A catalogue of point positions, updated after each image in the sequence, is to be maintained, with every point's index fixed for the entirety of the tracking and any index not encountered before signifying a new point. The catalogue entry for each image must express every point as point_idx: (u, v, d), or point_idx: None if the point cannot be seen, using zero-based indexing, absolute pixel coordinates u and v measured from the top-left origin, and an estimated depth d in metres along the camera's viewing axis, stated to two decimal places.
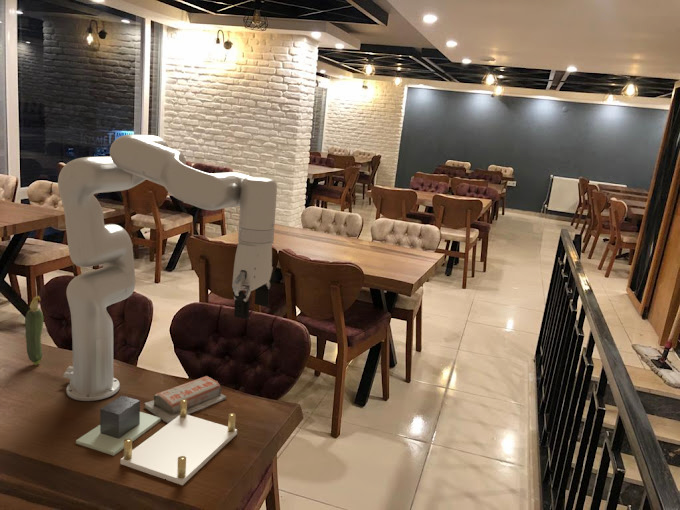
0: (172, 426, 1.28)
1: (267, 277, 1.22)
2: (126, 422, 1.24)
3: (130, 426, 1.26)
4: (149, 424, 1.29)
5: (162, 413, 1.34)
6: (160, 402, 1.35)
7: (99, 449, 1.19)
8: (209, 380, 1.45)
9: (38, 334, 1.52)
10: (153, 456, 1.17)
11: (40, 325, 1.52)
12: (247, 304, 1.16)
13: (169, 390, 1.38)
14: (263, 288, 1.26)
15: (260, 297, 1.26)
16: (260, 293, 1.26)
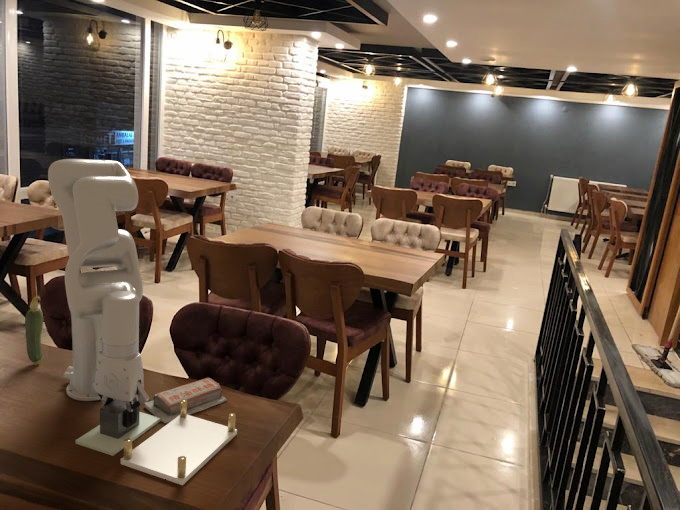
0: (172, 426, 1.28)
1: None
2: None
3: (130, 426, 1.26)
4: (149, 424, 1.29)
5: (161, 413, 1.34)
6: (159, 402, 1.35)
7: (98, 449, 1.19)
8: (210, 382, 1.45)
9: (38, 334, 1.52)
10: (153, 456, 1.17)
11: (40, 325, 1.52)
12: None
13: (169, 391, 1.38)
14: (111, 401, 1.26)
15: None
16: None
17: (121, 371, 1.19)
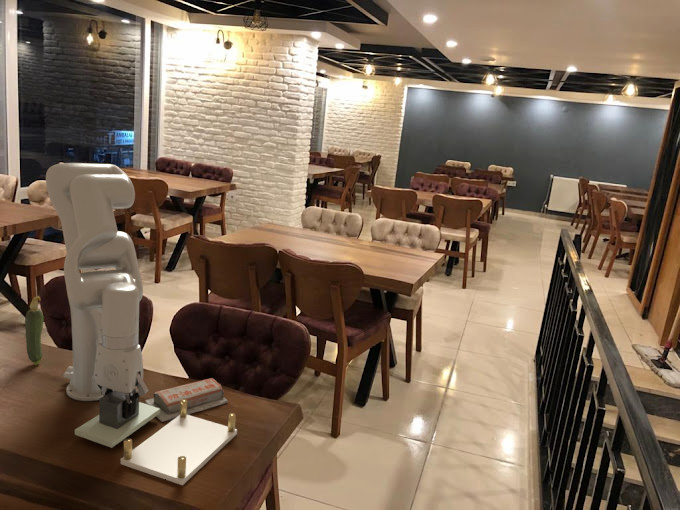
0: (172, 426, 1.28)
1: None
2: None
3: (129, 417, 1.26)
4: (148, 415, 1.29)
5: None
6: (158, 400, 1.36)
7: (97, 439, 1.19)
8: (212, 383, 1.44)
9: (38, 334, 1.52)
10: (153, 456, 1.17)
11: (40, 325, 1.52)
12: None
13: (169, 389, 1.39)
14: None
15: None
16: None
17: (121, 363, 1.19)
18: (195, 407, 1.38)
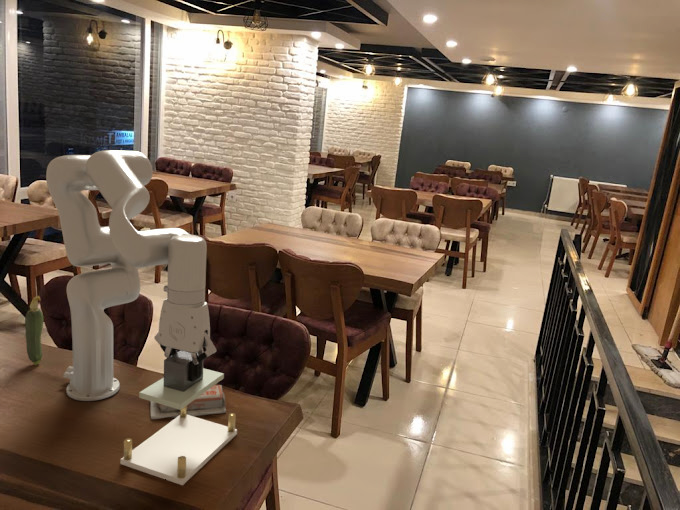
0: (172, 426, 1.28)
1: None
2: None
3: None
4: (213, 379, 1.21)
5: (155, 408, 1.36)
6: None
7: (164, 401, 1.11)
8: (216, 390, 1.41)
9: (38, 334, 1.52)
10: (153, 456, 1.17)
11: (40, 325, 1.52)
12: None
13: None
14: None
15: None
16: None
17: (188, 319, 1.12)
18: (190, 411, 1.36)
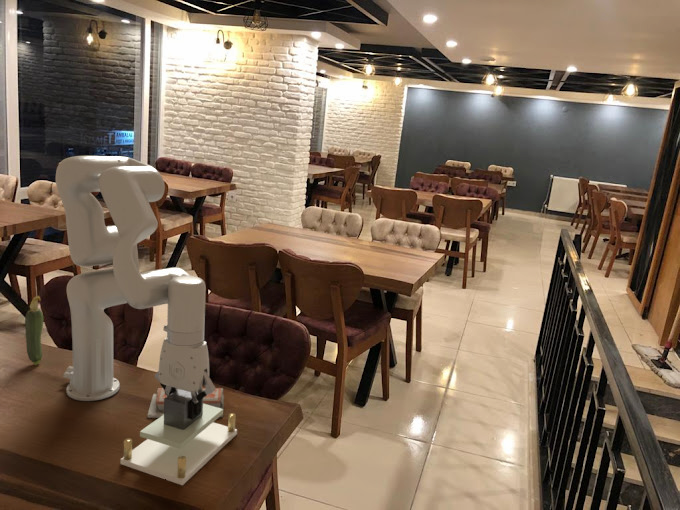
0: None
1: None
2: None
3: None
4: (212, 415, 1.23)
5: (153, 407, 1.36)
6: None
7: (165, 440, 1.13)
8: (215, 393, 1.39)
9: (38, 334, 1.52)
10: (153, 456, 1.17)
11: (40, 325, 1.52)
12: None
13: None
14: None
15: None
16: None
17: (188, 359, 1.14)
18: None
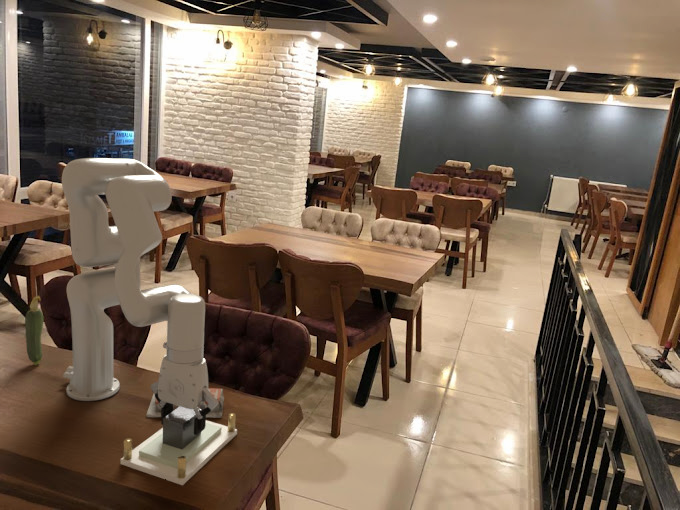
0: None
1: None
2: (189, 432, 1.20)
3: (192, 436, 1.21)
4: (211, 434, 1.24)
5: (153, 407, 1.37)
6: None
7: (163, 460, 1.14)
8: (215, 393, 1.39)
9: (38, 334, 1.52)
10: None
11: (40, 325, 1.52)
12: None
13: None
14: (169, 404, 1.22)
15: None
16: (168, 411, 1.22)
17: (187, 377, 1.15)
18: None
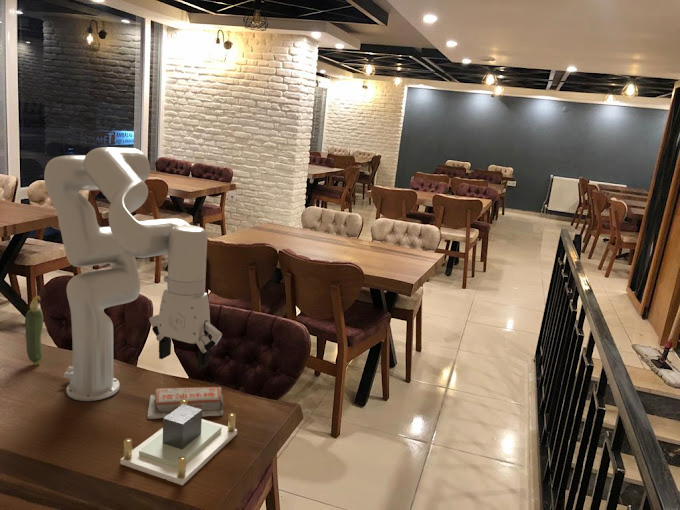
0: None
1: None
2: (189, 432, 1.20)
3: (192, 436, 1.21)
4: (211, 434, 1.24)
5: (152, 408, 1.36)
6: None
7: (163, 460, 1.14)
8: (214, 392, 1.40)
9: (38, 334, 1.52)
10: None
11: (40, 325, 1.52)
12: None
13: (170, 389, 1.39)
14: (167, 338, 1.19)
15: (166, 349, 1.19)
16: (166, 345, 1.19)
17: (188, 310, 1.12)
18: None
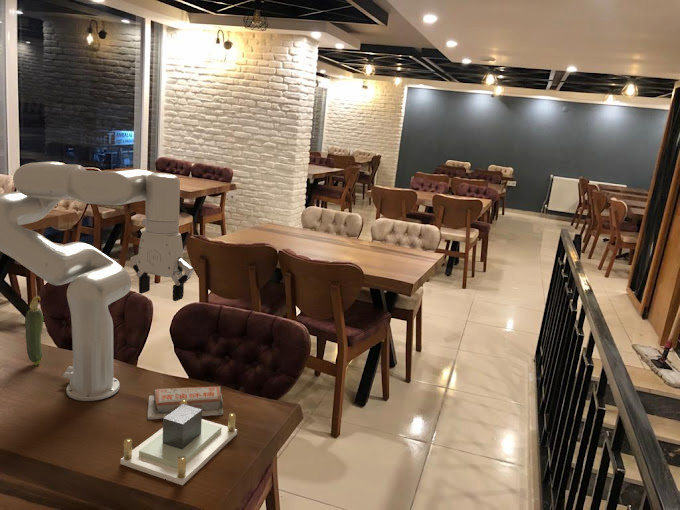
0: None
1: None
2: (189, 432, 1.20)
3: (192, 436, 1.21)
4: (211, 434, 1.24)
5: (152, 409, 1.36)
6: None
7: (163, 460, 1.14)
8: (214, 391, 1.40)
9: (38, 334, 1.52)
10: None
11: (40, 325, 1.52)
12: None
13: (169, 389, 1.39)
14: (146, 276, 1.35)
15: (145, 285, 1.35)
16: (145, 281, 1.35)
17: (163, 247, 1.28)
18: None
